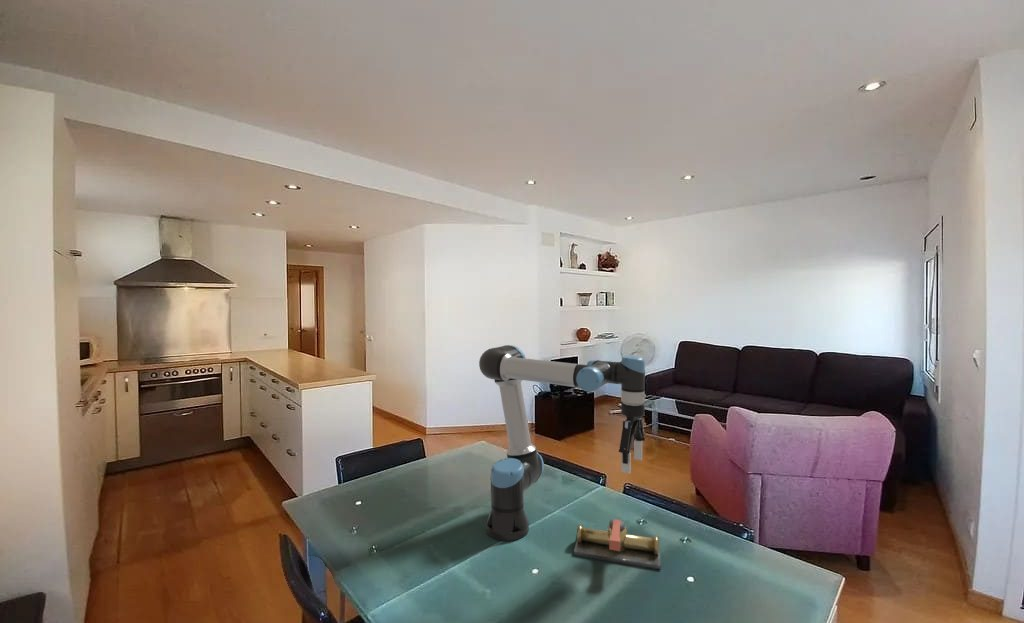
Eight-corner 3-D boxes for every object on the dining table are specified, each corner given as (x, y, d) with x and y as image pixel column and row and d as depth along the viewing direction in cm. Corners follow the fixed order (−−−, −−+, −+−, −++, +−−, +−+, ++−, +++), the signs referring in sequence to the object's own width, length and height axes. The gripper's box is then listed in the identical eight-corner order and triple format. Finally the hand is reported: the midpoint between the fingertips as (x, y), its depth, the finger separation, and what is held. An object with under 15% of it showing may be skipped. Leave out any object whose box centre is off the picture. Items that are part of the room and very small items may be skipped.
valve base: (573, 555, 130) (573, 533, 130) (579, 531, 144) (579, 512, 144) (660, 569, 123) (660, 546, 123) (658, 543, 136) (658, 522, 136)
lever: (606, 549, 121) (606, 539, 121) (609, 522, 136) (609, 513, 136) (623, 552, 120) (623, 542, 120) (624, 524, 135) (624, 515, 135)
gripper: (633, 412, 125) (632, 481, 126) (653, 397, 146) (653, 456, 147) (609, 409, 129) (608, 476, 130) (632, 394, 150) (632, 452, 151)
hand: (632, 465), depth 138 cm, fingers open, 13 cm apart
